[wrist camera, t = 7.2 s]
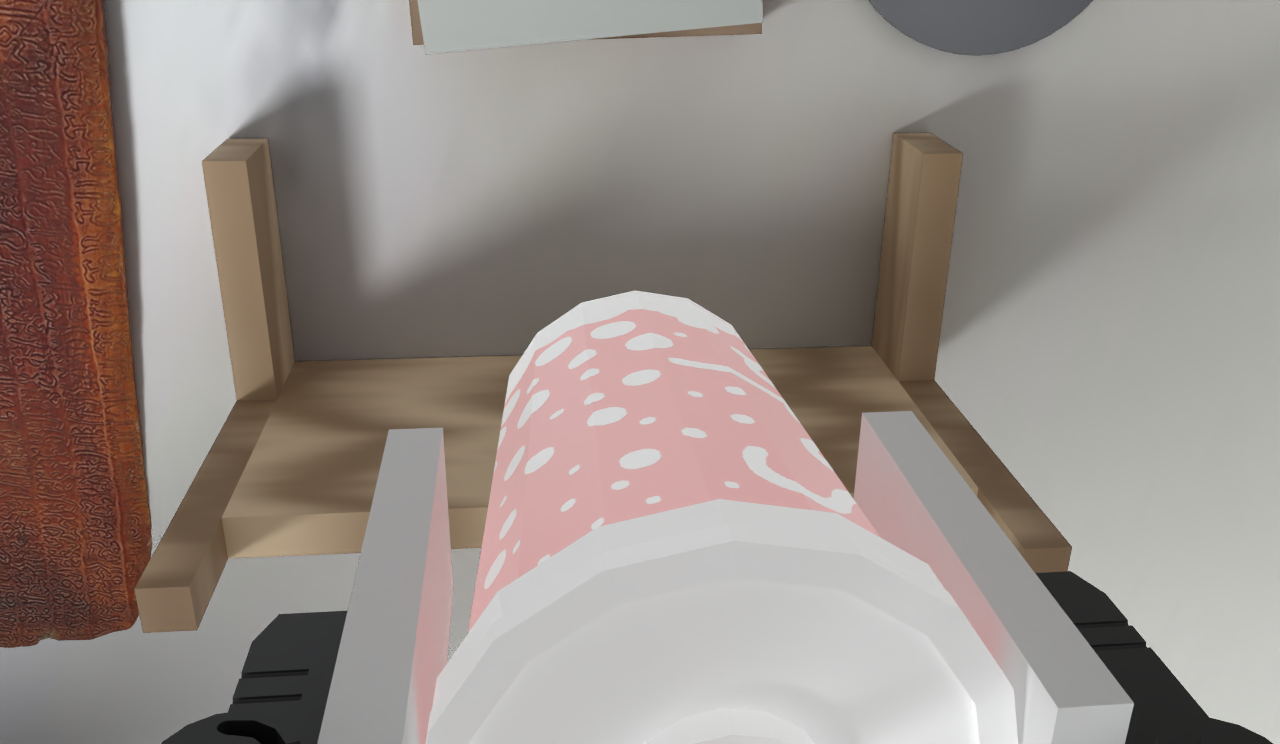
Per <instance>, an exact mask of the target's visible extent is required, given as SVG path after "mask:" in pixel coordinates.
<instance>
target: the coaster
mask: <svg viewBox="0 0 1280 744" xmlns="http://www.w3.org/2000/svg"><path fill="white" fill-rule="evenodd" d="M869 1H870V3H871V4H872V5H873V7H874V8H875V9H876V10H877V11H878V12H879V13H880V14H881V15H882V17H883V18H884V19H885V20H886V21H887V22H889V23H890V24H891V25H892V26H894V27H895V28H896V29H898V30H899V31H900V32H902V33H903V34H905V35H907V36H909V37H910V38H912V39H914V40H916V41H918V42H920V43H923V44H925V45H928V46H930V47H933V48H936V49H938V50H941V51H946V52H951V53H955V54H963V55H990V54H998V53H1003V52H1008V51H1013V50H1016V49H1019V48H1022V47H1025V46H1028V45H1030V44H1033V43H1035V42H1037V41H1039V40H1041V39H1043V38H1045V37H1047V36H1049V35H1051V34H1052V33H1054V32H1055V31H1057V30H1059V29H1060V28H1062V27H1063V26H1065V25H1066V24H1068V23H1069V22H1070V21H1071V20H1072V19H1074V18H1075V17H1076V16H1077V15H1078V14H1080V13H1081V12H1082V11H1083V10H1084V9H1085V8H1086V7H1087V6H1088V5H1089V4H1090V3H1091V2H1092V1H1093V0H869Z"/></svg>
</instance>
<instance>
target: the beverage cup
mask: <svg viewBox="0 0 1280 744" xmlns="http://www.w3.org/2000/svg"><path fill="white" fill-rule="evenodd" d="M426 744H1018V735H1017V723H1016V710H1015V698H1014V689H1013V687H1012V686H1011V684H1010V683H1009V681H1008V679H1007V678H1006V676H1005V674H1004V673H1003V671H1002V670H1001V668H1000V667H999V665H998V664H997V662H996V661H995V659H994V658H993V657H992V655H991V654H990V652H989V651H988V649H987V648H986V646H985V645H984V643H983V642H982V640H981V639H980V637H979V636H978V634H977V633H976V632H975V630H974V629H973V627H972V626H971V624H970V623H969V621H968V620H967V618H966V617H965V615H964V614H963V612H962V611H961V609H960V608H959V606H958V605H957V604H956V602H955V601H954V599H953V598H952V596H951V595H950V593H949V592H948V591H946V590H945V588H944V587H943V585H942V584H941V582H940V581H939V579H938V578H937V577H936V575H935V574H934V572H933V571H932V569H931V568H930V566H929V565H928V564H926V563H925V562H923V561H921V560H919V559H918V558H916V557H914V556H912V555H910V554H909V553H907V552H905V551H903V550H902V549H900V548H898V547H896V546H894V545H893V544H891V543H889V542H887V541H885V540H884V539H882V538H880V536H879V535H878V533H877V532H876V530H875V529H874V528H873V526H872V525H871V523H870V522H869V520H868V519H867V518H866V516H865V515H864V513H863V512H862V510H861V509H860V508H859V506H858V505H857V503H856V502H855V500H854V499H853V498H852V496H851V495H850V493H849V492H848V490H847V489H846V488H845V486H844V485H843V483H842V482H841V480H840V479H839V478H838V476H837V475H836V473H835V472H834V470H833V469H832V468H831V466H830V465H829V463H828V462H827V461H826V459H825V458H824V456H823V455H822V453H821V452H820V451H819V449H818V448H817V446H816V445H815V443H814V442H813V441H812V439H811V438H810V436H809V435H808V433H807V432H806V431H805V429H804V428H803V426H802V425H801V423H800V422H799V421H798V419H797V418H796V416H795V415H794V413H793V412H792V411H791V409H790V408H789V406H788V405H787V403H786V402H785V401H784V399H783V398H782V396H781V395H780V393H779V392H778V391H777V389H776V388H775V386H774V385H773V383H772V382H771V381H770V379H769V378H768V376H767V375H766V373H765V372H764V371H763V369H762V368H761V366H760V365H759V363H758V362H757V361H756V359H755V358H754V356H753V355H752V353H751V352H750V351H749V349H748V348H747V346H746V345H745V343H744V342H743V341H742V339H741V338H740V336H739V335H738V333H737V332H736V331H735V329H734V328H733V326H732V325H731V324H729V323H728V322H726V321H724V320H723V319H721V318H719V317H718V316H716V315H715V314H713V313H711V312H710V311H708V310H706V309H705V308H703V307H701V306H700V305H698V304H696V303H695V302H693V301H691V300H690V299H688V298H682V297H675V296H669V295H662V294H655V293H649V292H642V291H636V290H634V291H630V292H626V293H621V294H617V295H612V296H608V297H604V298H599V299H595V300H590V301H586V302H582V303H580V304H579V305H577V306H576V307H574V308H573V309H571V310H570V311H568V312H567V313H566V314H564V315H563V316H561V317H560V318H558V319H557V320H555V321H554V322H552V323H551V324H549V325H548V326H546V327H545V328H543V329H542V330H540V331H539V332H538V333H537V334H536V335H535V337H534V339H533V340H532V342H531V343H530V345H529V346H528V348H527V349H526V351H525V352H524V354H523V355H522V357H521V358H520V360H519V361H518V363H517V364H516V366H515V367H514V369H513V370H512V372H511V374H510V375H509V380H508V387H507V393H506V399H505V405H504V411H503V417H502V424H501V430H500V436H499V442H498V449H497V455H496V461H495V467H494V474H493V480H492V486H491V492H490V499H489V505H488V511H487V517H486V524H485V530H484V536H483V542H482V549H481V555H480V561H479V567H478V574H477V580H476V586H475V592H474V599H473V605H472V611H471V617H470V624H469V630H468V634H467V636H466V637H465V639H464V640H463V642H462V643H461V644H460V646H459V647H458V649H457V650H456V651H455V653H454V654H453V656H452V657H451V659H450V660H449V661H448V663H447V664H446V666H445V667H444V669H443V670H442V671H441V673H440V674H439V676H438V677H437V680H436V686H435V693H434V699H433V706H432V711H431V712H430V718H429V724H428V731H427V738H426Z"/></svg>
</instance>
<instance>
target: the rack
mask: <svg viewBox="0 0 1280 744" xmlns="http://www.w3.org/2000/svg"><path fill="white" fill-rule="evenodd" d="M962 158H963V153H962V152H960V151H958V150H957V149H955V148H954V147H952V146H950V145H949V144H947V143H946V142H944V141H942V140H941V139H939V138H938V137H936V136H934V135H933V134H931V133H893V142H892V152H891V162H890V171H889V181H888V191H887V201H886V211H885V221H884V230H883V240H882V250H881V260H880V270H879V280H878V289H877V299H876V309H875V319H874V329H873V339H872V346H852V347H815V348H778V349H749V351H750V352H751V353H752V355H753V356H754V358H755V359H756V361H757V362H758V363H759V365H760V366H761V368H762V369H763V371H764V372H765V373H766V375H767V376H768V378H769V379H770V381H771V382H772V383H773V385H774V386H775V388H776V389H777V391H778V392H779V393H780V395H781V396H782V398H783V399H784V401H785V402H786V403H787V405H788V406H789V408H790V409H791V411H792V412H793V413H794V415H795V416H796V418H797V419H798V421H799V422H800V423H801V425H802V426H803V428H804V429H805V431H806V432H807V433H808V435H809V436H810V438H811V439H812V441H813V442H814V443H815V445H816V446H817V448H818V449H819V451H820V452H821V453H822V455H823V456H824V458H825V459H826V461H827V462H828V463H829V465H830V466H831V468H832V469H833V470H834V472H835V473H836V475H837V476H838V478H839V479H840V480H841V482H842V483H843V485H844V486H845V488H846V489H847V490H848V492H849V493H850V495H851V496H852V498H853V499H854V489H855V479H856V469H857V459H858V449H859V439H860V428H861V418H862V413H867V412H895V411H912V412H913V413H914V415H915V416H916V417H917V419H918V420H919V421H920V423H921V424H922V425H923V427H924V428H925V429H926V430H927V432H928V433H929V434H930V436H931V437H932V438H933V440H934V441H935V442H936V444H937V445H938V446H939V448H940V449H941V450H942V452H943V453H944V454H945V455H946V457H947V458H948V459H949V461H950V462H951V463H952V465H953V466H954V467H955V469H956V470H957V471H958V473H959V474H960V475H961V476H962V478H963V479H964V480H965V482H966V483H967V484H968V486H969V487H970V488H971V490H972V491H973V492H974V494H975V495H976V496H977V498H978V499H979V500H980V501H981V503H982V504H983V505H984V507H985V508H986V509H987V511H988V512H989V513H990V515H991V516H992V517H993V519H994V520H995V521H996V522H997V524H998V525H999V526H1000V528H1001V529H1002V530H1003V532H1004V533H1005V534H1006V536H1007V537H1008V538H1009V540H1010V541H1011V542H1012V544H1013V545H1014V546H1015V547H1016V549H1017V550H1018V551H1019V553H1020V554H1021V555H1022V557H1023V558H1024V559H1025V561H1026V562H1027V563H1028V565H1029V566H1030V567H1031V568H1032V570H1033V571H1034V572H1035V573H1044V572H1064V571H1067V570H1068V565H1069V560H1070V555H1071V550H1072V546H1071V545H1070V544H1069V543H1068V542H1067V540H1066V539H1065V538H1064V537H1063V536H1062V534H1061V533H1060V532H1059V531H1058V529H1057V528H1056V527H1055V526H1054V525H1053V523H1052V522H1051V521H1050V520H1049V519H1048V517H1047V516H1046V515H1045V514H1044V513H1043V511H1042V510H1041V509H1040V508H1039V506H1038V505H1037V504H1036V503H1035V502H1034V500H1033V499H1032V498H1031V497H1030V496H1029V494H1028V493H1027V492H1026V491H1025V489H1024V488H1023V487H1022V486H1021V485H1020V483H1019V482H1018V481H1017V480H1016V479H1015V477H1014V476H1013V475H1012V474H1011V473H1010V471H1009V470H1008V469H1007V468H1006V466H1005V465H1004V464H1003V463H1002V462H1001V460H1000V459H999V458H998V457H997V456H996V454H995V453H994V452H993V451H992V450H991V448H990V447H989V446H988V445H987V443H986V442H985V441H984V440H983V439H982V437H981V436H980V435H979V434H978V433H977V431H976V430H975V429H974V428H973V426H972V425H971V424H970V423H969V422H968V420H967V419H966V418H965V417H964V416H963V414H962V413H961V412H960V411H959V410H958V408H957V407H956V406H955V405H954V403H953V402H952V401H951V400H950V399H949V397H948V396H947V395H946V394H945V393H944V391H943V390H942V389H941V388H940V386H939V385H938V384H937V383H936V382H935V380H934V377H935V369H936V362H937V354H938V346H939V338H940V330H941V322H942V315H943V307H944V299H945V291H946V283H947V275H948V267H949V260H950V252H951V244H952V236H953V228H954V220H955V213H956V205H957V197H958V189H959V181H960V173H961V165H962ZM202 166H203V173H204V180H205V187H206V194H207V200H208V207H209V214H210V221H211V228H212V235H213V241H214V248H215V255H216V262H217V269H218V276H219V282H220V289H221V296H222V303H223V310H224V317H225V323H226V330H227V337H228V344H229V351H230V358H231V364H232V371H233V378H234V385H235V392H236V398H237V401H236V403H235V405H234V407H233V409H232V411H231V412H230V414H229V416H228V418H227V420H226V422H225V423H224V425H223V427H222V429H221V431H220V433H219V434H218V436H217V438H216V440H215V442H214V444H213V445H212V447H211V449H210V451H209V453H208V455H207V456H206V458H205V460H204V462H203V464H202V466H201V467H200V469H199V471H198V473H197V475H196V477H195V478H194V480H193V482H192V484H191V486H190V488H189V489H188V491H187V493H186V495H185V497H184V499H183V500H182V502H181V504H180V506H179V508H178V510H177V511H176V513H175V515H174V517H173V519H172V521H171V522H170V524H169V526H168V528H167V530H166V532H165V533H164V535H163V537H162V539H161V541H160V543H159V544H158V546H157V548H156V550H155V552H154V554H153V555H152V557H151V559H150V561H149V563H148V565H147V566H146V568H145V570H144V572H143V574H142V576H141V578H140V579H139V581H138V583H137V585H136V587H135V589H134V590H135V595H136V600H137V605H138V610H139V615H140V620H141V625H142V630H143V633H149V632H170V631H191V630H197V629H198V627H199V625H200V622H201V620H202V618H203V615H204V613H205V611H206V608H207V606H208V604H209V601H210V599H211V597H212V595H213V592H214V590H215V588H216V585H217V583H218V581H219V578H220V576H221V574H222V571H223V569H224V567H225V564H226V562H227V560H228V558H249V557H273V556H296V555H320V554H343V553H361V550H362V545H363V541H364V537H365V532H366V528H367V524H368V519H369V515H370V510H371V506H372V502H373V497H374V493H375V488H376V484H377V480H378V475H379V471H380V466H381V462H382V458H383V453H384V449H385V444H386V440H387V436H388V431H389V429H416V428H443V438H444V453H445V469H446V484H447V499H448V515H449V530H450V545H451V549H461V548H482V542H483V536H484V530H485V524H486V517H487V511H488V505H489V499H490V492H491V486H492V480H493V474H494V467H495V461H496V455H497V449H498V442H499V436H500V430H501V424H502V417H503V411H504V405H505V399H506V393H507V387H508V380H509V375H510V374H511V372H512V370H513V369H514V367H515V366H516V364H517V363H518V361H519V360H520V358H521V357H522V355H517V356H479V357H442V358H405V359H367V360H330V361H295V358H294V350H293V341H292V333H291V325H290V317H289V308H288V300H287V292H286V284H285V276H284V267H283V259H282V251H281V243H280V234H279V226H278V218H277V210H276V202H275V193H274V185H273V177H272V169H271V160H270V152H269V144H268V138H261V139H227V140H225V141H224V142H223V143H222V144H221V145H220V146H219V147H217V148H216V149H215V150H214V151H213V152H212V153H211V154H210V155H208V156H207V157H206V158H205V159H204V160H203V161H202Z"/></svg>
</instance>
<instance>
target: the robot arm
mask: <svg viewBox="0 0 1280 744" xmlns="http://www.w3.org/2000/svg"><path fill="white" fill-rule="evenodd" d="M854 500H855V502H856V503H857V505H858V506H859V508H860V509H861V510H862V512H863V513H864V515H865V516H866V518H867V519H868V520H869V522H870V523H871V525H872V526H873V528H874V529H875V530H876V532H877V533H878V535H879V536H880V538H882V539H884V540H885V541H887V542H889V543H891V544H893V545H894V546H896V547H898V548H900V549H902V550H903V551H905V552H907V553H909V554H910V555H912V556H914V557H916V558H918V559H919V560H921V561H923V562H925V563H926V564H928V565H929V566H930V568H931V569H932V571H933V572H934V574H935V575H936V577H937V578H938V579H939V581H940V582H941V584H942V585H943V587H944V588H945V590H946V591H948V592H949V593H950V595H951V596H952V598H953V599H954V601H955V602H956V604H957V605H958V606H959V608H960V609H961V611H962V612H963V614H964V615H965V617H966V618H967V620H968V621H969V623H970V624H971V626H972V627H973V629H974V630H975V632H976V633H977V634H978V636H979V637H980V639H981V640H982V642H983V643H984V645H985V646H986V648H987V649H988V651H989V652H990V654H991V655H992V657H993V658H994V659H995V661H996V662H997V664H998V665H999V667H1000V668H1001V670H1002V671H1003V673H1004V674H1005V676H1006V678H1007V679H1008V681H1009V683H1010V684H1011V686H1012V687H1013V689H1014V698H1015V710H1016V723H1017V735H1018V744H1273V743H1271V742H1270V741H1269V740H1267V739H1266V738H1265V737H1263V736H1261V735H1259V734H1256V733H1254V732H1252V731H1250V730H1248V729H1246V728H1244V727H1242V726H1240V725H1237V724H1233V723H1229V722H1225V721H1221V720H1217V719H1213V718H1209V717H1208V715H1207V714H1206V713H1205V712H1204V711H1203V710H1202V708H1201V707H1200V706H1199V705H1198V704H1197V702H1196V701H1195V700H1194V699H1193V698H1192V696H1191V695H1190V694H1189V693H1188V692H1187V690H1186V689H1185V688H1184V687H1183V686H1182V684H1181V683H1180V682H1179V681H1178V680H1177V679H1176V677H1175V676H1174V675H1173V674H1172V673H1171V671H1170V670H1169V669H1168V668H1167V667H1166V665H1165V664H1164V663H1163V662H1162V661H1161V659H1160V658H1159V657H1158V656H1157V655H1156V653H1155V652H1154V651H1153V650H1152V649H1151V648H1147V647H1146V642H1145V640H1144V639H1143V638H1142V637H1141V636H1140V634H1139V633H1138V632H1137V631H1136V630H1135V628H1134V627H1133V626H1129V625H1128V620H1127V619H1126V618H1125V616H1124V615H1123V614H1122V613H1121V612H1120V611H1119V609H1118V608H1117V607H1116V606H1115V605H1114V603H1113V602H1112V601H1111V600H1110V599H1109V597H1108V596H1107V595H1106V594H1105V593H1104V592H1102V591H1100V590H1099V589H1097V588H1096V587H1094V586H1093V585H1091V584H1090V583H1088V582H1086V581H1085V580H1083V579H1082V578H1080V577H1079V576H1077V575H1076V574H1074V573H1072V572H1071V571H1064V572H1044V573H1035V572H1034V571H1033V570H1032V568H1031V567H1030V566H1029V565H1028V563H1027V562H1026V561H1025V559H1024V558H1023V557H1022V555H1021V554H1020V553H1019V551H1018V550H1017V549H1016V547H1015V546H1014V545H1013V544H1012V542H1011V541H1010V540H1009V538H1008V537H1007V536H1006V534H1005V533H1004V532H1003V530H1002V529H1001V528H1000V526H999V525H998V524H997V522H996V521H995V520H994V519H993V517H992V516H991V515H990V513H989V512H988V511H987V509H986V508H985V507H984V505H983V504H982V503H981V501H980V500H979V499H978V498H977V496H976V495H975V494H974V492H973V491H972V490H971V488H970V487H969V486H968V484H967V483H966V482H965V480H964V479H963V478H962V476H961V475H960V474H959V473H958V471H957V470H956V469H955V467H954V466H953V465H952V463H951V462H950V461H949V459H948V458H947V457H946V455H945V454H944V453H943V452H942V450H941V449H940V448H939V446H938V445H937V444H936V442H935V441H934V440H933V438H932V437H931V436H930V434H929V433H928V432H927V430H926V429H925V428H924V427H923V425H922V424H921V423H920V421H919V420H918V419H917V417H916V416H915V415H914V413H913V412H912V411H895V412H867V413H862V418H861V428H860V439H859V449H858V459H857V469H856V479H855V489H854ZM452 598H453V576H452V561H451V545H450V530H449V515H448V499H447V484H446V469H445V453H444V438H443V428H416V429H389V431H388V436H387V440H386V444H385V449H384V453H383V458H382V462H381V466H380V471H379V475H378V480H377V484H376V488H375V493H374V497H373V502H372V506H371V510H370V515H369V519H368V524H367V528H366V532H365V537H364V541H363V545H362V550H361V554H360V559H359V563H358V567H357V572H356V576H355V581H354V585H353V589H352V594H351V598H350V603H349V607H348V611H334V612H315V613H295V614H279V615H278V616H277V617H276V618H275V619H274V620H273V621H272V622H271V623H270V624H269V625H268V626H267V627H266V628H265V629H264V630H263V631H262V632H261V634H260V635H259V636H258V637H257V638H256V639H255V640H254V641H253V642H252V644H251V647H250V650H249V653H248V656H247V658H246V661H245V664H244V667H243V670H242V678H241V679H239V682H238V685H237V687H236V690H235V693H234V696H233V704H231V705H230V708H229V711H228V713H222V714H216V715H213V716H210V717H208V718H205V719H202V720H200V721H197V722H194V723H192V724H189V725H187V726H185V727H184V728H182V729H181V730H179V731H178V732H176V733H175V734H174V735H172V736H171V737H169V738H168V739H166V740H165V741H163V742H162V744H426V738H427V731H428V724H429V718H430V712H431V711H432V706H433V699H434V693H435V686H436V680H437V677H438V676H439V674H440V673H441V671H442V670H443V669H444V667H445V666H446V664H447V657H448V645H449V633H450V622H451V610H452Z"/></svg>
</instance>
